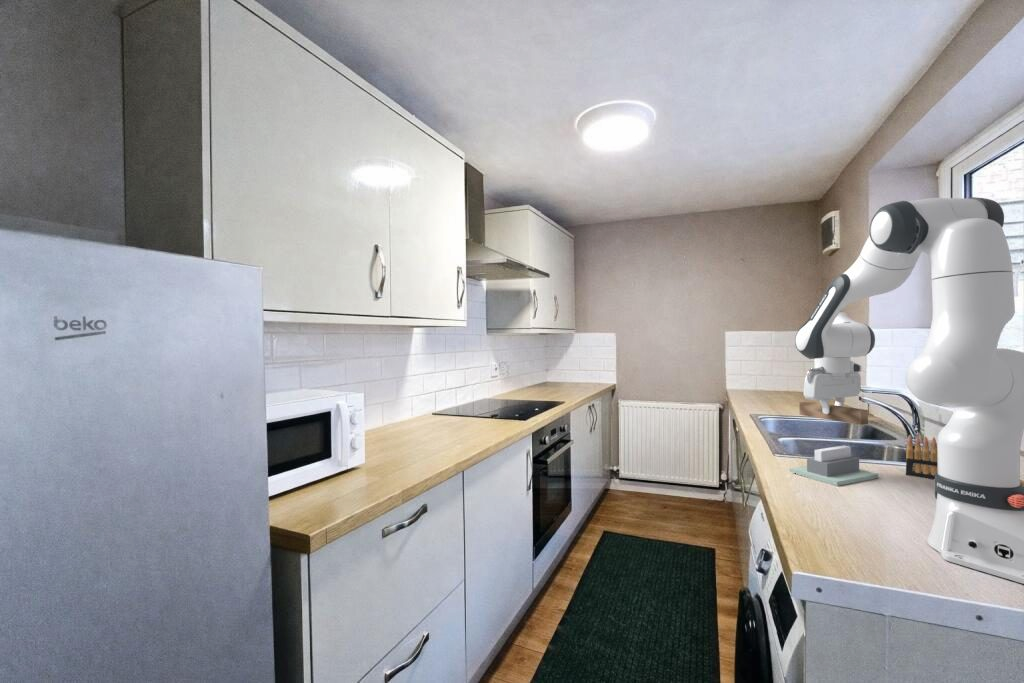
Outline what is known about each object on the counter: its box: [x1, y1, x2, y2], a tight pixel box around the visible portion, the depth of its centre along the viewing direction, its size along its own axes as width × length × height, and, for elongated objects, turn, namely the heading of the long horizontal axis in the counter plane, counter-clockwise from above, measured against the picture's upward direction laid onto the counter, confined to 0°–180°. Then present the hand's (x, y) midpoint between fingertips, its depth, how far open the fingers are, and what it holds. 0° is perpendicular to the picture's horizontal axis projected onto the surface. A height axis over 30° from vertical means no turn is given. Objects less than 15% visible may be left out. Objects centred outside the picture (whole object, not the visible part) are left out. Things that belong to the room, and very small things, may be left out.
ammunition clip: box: [905, 434, 938, 480], centre depth 132 cm, size 11×2×12 cm, turn 45°
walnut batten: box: [799, 400, 869, 426], centre depth 136 cm, size 18×3×4 cm, turn 22°
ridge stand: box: [789, 445, 879, 487], centre depth 136 cm, size 14×18×8 cm
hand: (832, 413), depth 136 cm, fingers closed on walnut batten, 3 cm apart
